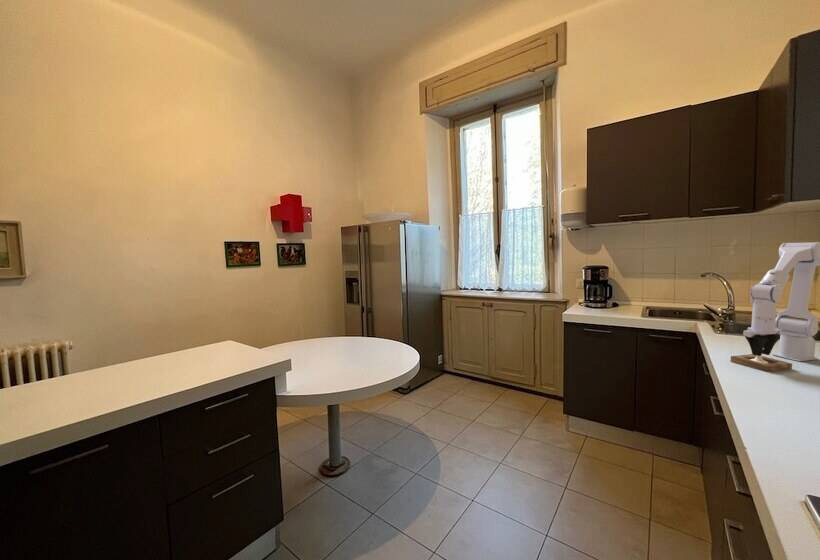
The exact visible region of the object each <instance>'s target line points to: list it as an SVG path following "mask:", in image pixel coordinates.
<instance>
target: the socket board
mask: <svg viewBox="0 0 820 560" xmlns="http://www.w3.org/2000/svg"><path fill="white" fill-rule="evenodd" d="M754 358H756V355H753V354H752V353H750V354H740V355H739V354H738V355H732V356H730V363H735V364H738V365H740V366H745V367H749V368H752V369H755V370H759V371H763V372H766V373H771V372H779V371H786V370H787V371H788V370H792V369H793V363H791V362H788V361H783V360H780V359H775V358H771V357H768V356H765V355H762V359H763V360H764V361H766V362H768V363H767V364H764V363H760V362H757V361H753V360H750V359H754Z"/></svg>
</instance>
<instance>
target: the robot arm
mask: <svg viewBox="0 0 820 560" xmlns="http://www.w3.org/2000/svg"><path fill="white" fill-rule="evenodd" d="M778 256H779V259H778V262H777V263H776V266H775V267H774V268H773V269H770V270H768V271H767V272H766V274H765V275H764V276H763V278H762V279H761V280H760V281H759V283H757V284H755V285H752V286H751V288H750V289H749V290H750V291H749V293H748V294H749V298H750V303H751V305H752V310H751V311H752V313H751V327H750V326H749V327H747V329H746V330H743V333H742V334H743V336H744V338H745V340H746V341H747V343H748V344H749V347H750V351H751V354H753V355H757V356H761V354H762V355H764V356H765V355H766V356H770V354H771V352H772V350H773V348H774V346H775V344H777V342H779V346H778V347H779V348H778V352H774V353H772V355H773V356H776V357H779V358H784V359H788V360H793V361H797V362H803V361H805V362H806V361H812V360H814V361H815V360H818V357H815V356H816V355H815V354H816V353H815V351H816V340H815V339H814V336H815V335H817V333H818V330H819V318H818V316H817V315H816V314H814V313H813V312H811V311H810V310H809V309H808V308H809V304H810V298H811V293H812V287H813V281H814V278H815V277H814V275H815V270H816V268H817V267H819V266H820V241H814V242H783V243H782V244H781V245H780V246H779V248H778ZM793 268H794V270H793ZM792 270H793V275H792V276H793V277H792V282H791V288H790V294H789V297H788V298H789V299H788V306H787V308H786V309H783V310H780V311H778V312H777V306H778V305H777V304H778V301H780V300H781V298H782V296H783V295H782V294H783V292H784V286H786V284H787V282H788V281H789V279H790V277H791V276H790V274H789V273H790V272H791V271H792ZM763 348H764V350H763Z"/></svg>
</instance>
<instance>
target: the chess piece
mask: <svg viewBox="0 0 820 560" xmlns="http://www.w3.org/2000/svg"><path fill="white" fill-rule="evenodd" d="M763 350H764V348H763ZM762 356H763V354H761V356H757V355H756V358H754V359H750V360H753V361H757V362H760V363H764V364H767V363H768V362H766V361H764V360H763V359H762Z"/></svg>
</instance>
